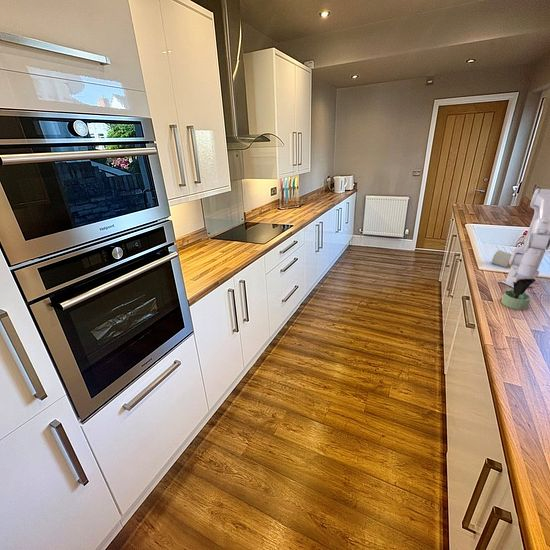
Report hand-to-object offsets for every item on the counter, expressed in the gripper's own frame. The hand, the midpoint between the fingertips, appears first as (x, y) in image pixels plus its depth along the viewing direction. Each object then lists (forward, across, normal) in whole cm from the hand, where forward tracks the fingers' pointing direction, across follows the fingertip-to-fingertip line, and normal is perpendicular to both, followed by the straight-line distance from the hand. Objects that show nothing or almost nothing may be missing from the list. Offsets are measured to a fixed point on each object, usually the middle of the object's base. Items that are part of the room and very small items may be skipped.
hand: (517, 293), depth 120 cm
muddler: (+4, 0, 0) cm, 4 cm away
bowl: (+5, 0, 0) cm, 5 cm away
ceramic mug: (+5, -37, -28) cm, 47 cm away
